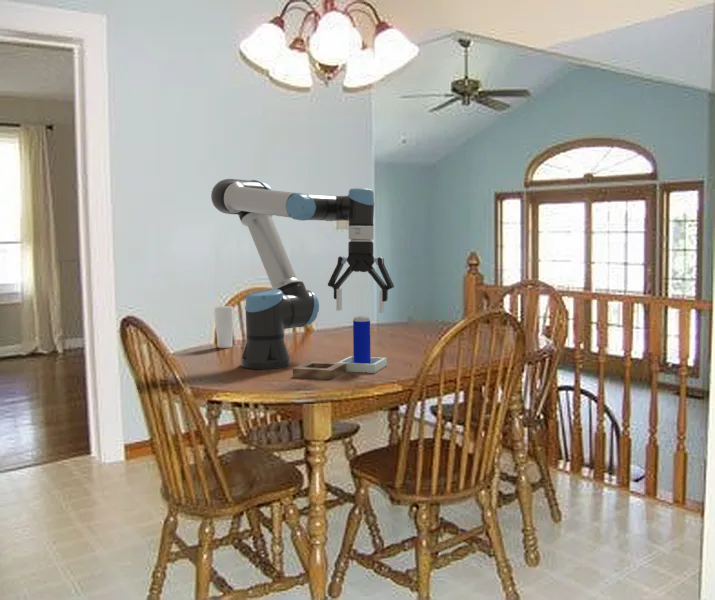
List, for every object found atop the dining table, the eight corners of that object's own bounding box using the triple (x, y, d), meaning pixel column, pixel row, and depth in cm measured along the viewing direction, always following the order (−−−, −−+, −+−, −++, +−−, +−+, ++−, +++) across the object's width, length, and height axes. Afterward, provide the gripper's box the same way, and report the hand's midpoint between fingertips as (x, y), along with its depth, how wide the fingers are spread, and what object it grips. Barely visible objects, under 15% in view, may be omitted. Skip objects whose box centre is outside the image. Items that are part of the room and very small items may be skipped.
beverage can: (373, 366, 211) (373, 317, 210) (360, 368, 208) (359, 318, 207) (363, 364, 215) (363, 316, 214) (350, 366, 212) (349, 317, 211)
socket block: (292, 377, 200) (292, 368, 200) (309, 369, 211) (308, 361, 211) (331, 379, 196) (331, 370, 196) (346, 371, 207) (346, 363, 207)
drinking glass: (214, 346, 259) (213, 306, 257) (232, 345, 261) (231, 305, 259) (216, 349, 252) (215, 308, 251) (235, 348, 254) (234, 307, 253)
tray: (336, 370, 208) (336, 362, 208) (350, 364, 220) (350, 356, 219) (375, 373, 204) (375, 364, 204) (386, 365, 216) (386, 357, 215)
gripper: (317, 240, 209) (317, 310, 211) (397, 241, 201) (396, 314, 203) (326, 239, 216) (326, 307, 218) (404, 241, 208) (403, 311, 210)
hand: (360, 311), depth 211 cm, fingers open, 13 cm apart
